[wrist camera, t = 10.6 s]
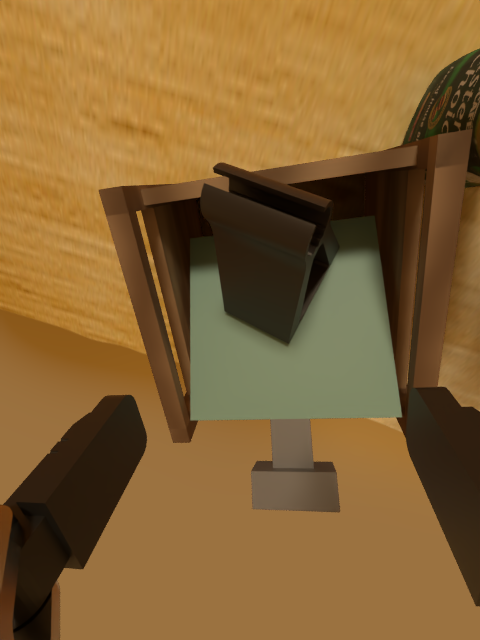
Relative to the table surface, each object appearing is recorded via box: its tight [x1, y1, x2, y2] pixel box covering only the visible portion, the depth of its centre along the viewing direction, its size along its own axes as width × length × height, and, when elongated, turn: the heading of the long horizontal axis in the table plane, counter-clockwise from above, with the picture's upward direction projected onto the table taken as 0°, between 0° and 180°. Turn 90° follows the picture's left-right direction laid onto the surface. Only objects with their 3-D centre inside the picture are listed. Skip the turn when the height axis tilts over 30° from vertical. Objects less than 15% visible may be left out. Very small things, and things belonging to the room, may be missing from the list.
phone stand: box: [200, 163, 340, 344], centre depth 20 cm, size 9×6×12 cm
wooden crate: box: [99, 129, 473, 443], centre depth 28 cm, size 20×20×16 cm
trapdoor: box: [190, 215, 402, 512], centre depth 25 cm, size 16×22×3 cm
